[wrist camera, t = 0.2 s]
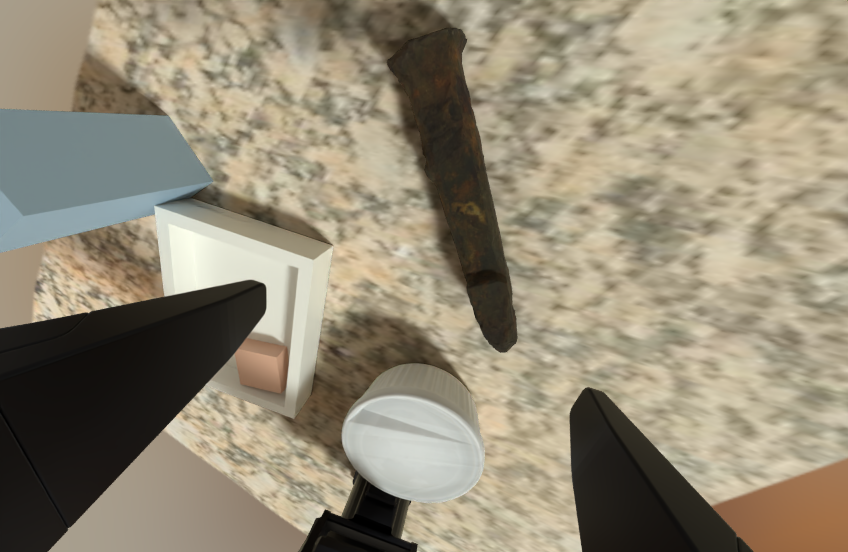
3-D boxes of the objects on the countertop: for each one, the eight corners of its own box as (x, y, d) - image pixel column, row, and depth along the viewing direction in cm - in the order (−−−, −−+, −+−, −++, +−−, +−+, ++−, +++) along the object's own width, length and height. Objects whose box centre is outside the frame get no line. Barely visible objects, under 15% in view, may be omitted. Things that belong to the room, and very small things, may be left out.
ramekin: (450, 333, 26) (440, 378, 21) (508, 434, 29) (510, 493, 24) (341, 371, 30) (312, 416, 25) (402, 456, 33) (386, 511, 28)
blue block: (213, 181, 24) (23, 216, 15) (173, 209, 26) (-21, 257, 16) (168, 115, 23) (-75, 105, 13) (129, 150, 25) (-111, 164, 15)
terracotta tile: (291, 381, 30) (281, 393, 29) (251, 372, 31) (240, 384, 29) (287, 346, 28) (276, 357, 27) (245, 337, 29) (233, 347, 28)
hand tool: (399, 62, 19) (372, 44, 15) (466, 35, 18) (456, 9, 14) (470, 333, 26) (464, 372, 22) (522, 326, 25) (527, 367, 20)
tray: (311, 394, 32) (293, 419, 29) (199, 353, 33) (172, 373, 30) (333, 245, 25) (313, 260, 22) (190, 197, 25) (154, 205, 23)
